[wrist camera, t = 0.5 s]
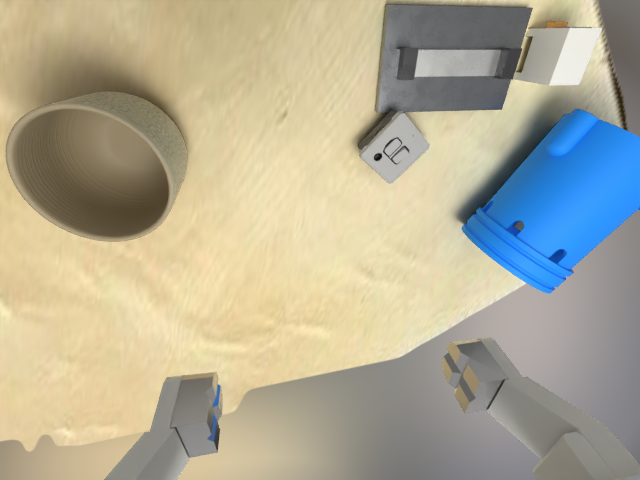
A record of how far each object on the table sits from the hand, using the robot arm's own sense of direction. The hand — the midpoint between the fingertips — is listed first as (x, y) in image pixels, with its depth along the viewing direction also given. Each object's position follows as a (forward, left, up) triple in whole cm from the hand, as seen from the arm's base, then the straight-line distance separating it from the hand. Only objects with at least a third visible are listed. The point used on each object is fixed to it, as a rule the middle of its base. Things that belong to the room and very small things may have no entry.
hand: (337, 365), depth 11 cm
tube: (+16, +48, -47) cm, 69 cm away
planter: (+5, -22, -47) cm, 52 cm away
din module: (-7, +42, -47) cm, 63 cm away
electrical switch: (+9, +16, -47) cm, 50 cm away
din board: (-6, +27, -47) cm, 54 cm away
